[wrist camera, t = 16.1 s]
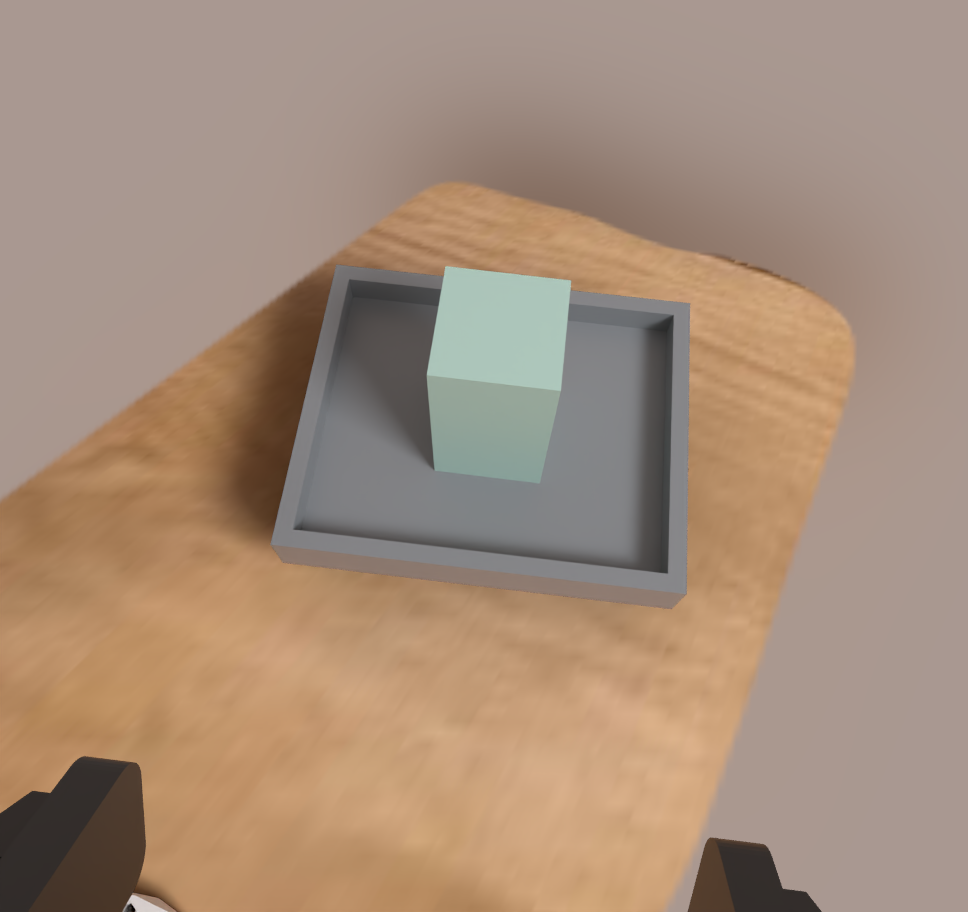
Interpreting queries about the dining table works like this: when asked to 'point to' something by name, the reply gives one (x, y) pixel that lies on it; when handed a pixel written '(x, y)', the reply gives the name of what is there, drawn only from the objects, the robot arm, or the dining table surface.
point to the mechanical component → (146, 904)
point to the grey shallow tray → (484, 500)
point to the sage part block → (496, 372)
